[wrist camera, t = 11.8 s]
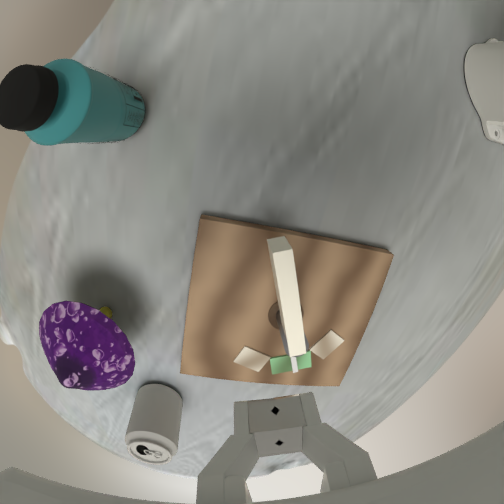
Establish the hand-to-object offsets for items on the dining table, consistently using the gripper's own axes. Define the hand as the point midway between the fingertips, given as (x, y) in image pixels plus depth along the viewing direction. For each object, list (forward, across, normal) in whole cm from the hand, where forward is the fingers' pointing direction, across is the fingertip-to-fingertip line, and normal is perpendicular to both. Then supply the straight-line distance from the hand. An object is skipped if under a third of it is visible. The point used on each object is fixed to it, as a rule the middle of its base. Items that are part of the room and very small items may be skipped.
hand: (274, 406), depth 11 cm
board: (+26, -3, +12) cm, 29 cm away
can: (+25, +17, +26) cm, 40 cm away
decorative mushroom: (+26, +20, +9) cm, 34 cm away
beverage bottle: (+26, +12, -14) cm, 32 cm away
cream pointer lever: (+24, -3, +10) cm, 26 cm away
